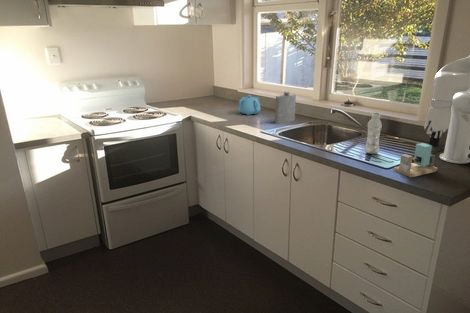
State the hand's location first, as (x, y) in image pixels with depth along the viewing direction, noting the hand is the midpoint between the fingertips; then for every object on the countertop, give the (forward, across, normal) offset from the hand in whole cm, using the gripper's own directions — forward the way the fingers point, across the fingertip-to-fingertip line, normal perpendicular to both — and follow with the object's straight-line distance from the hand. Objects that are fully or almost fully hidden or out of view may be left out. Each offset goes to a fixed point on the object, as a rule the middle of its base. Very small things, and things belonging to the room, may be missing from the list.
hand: (433, 146), depth 159 cm
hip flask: (+10, +9, -101) cm, 102 cm away
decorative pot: (+10, +18, -135) cm, 137 cm away
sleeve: (+7, +6, 0) cm, 10 cm away
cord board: (+10, +9, 0) cm, 14 cm away
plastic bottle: (+10, +8, -26) cm, 29 cm away
